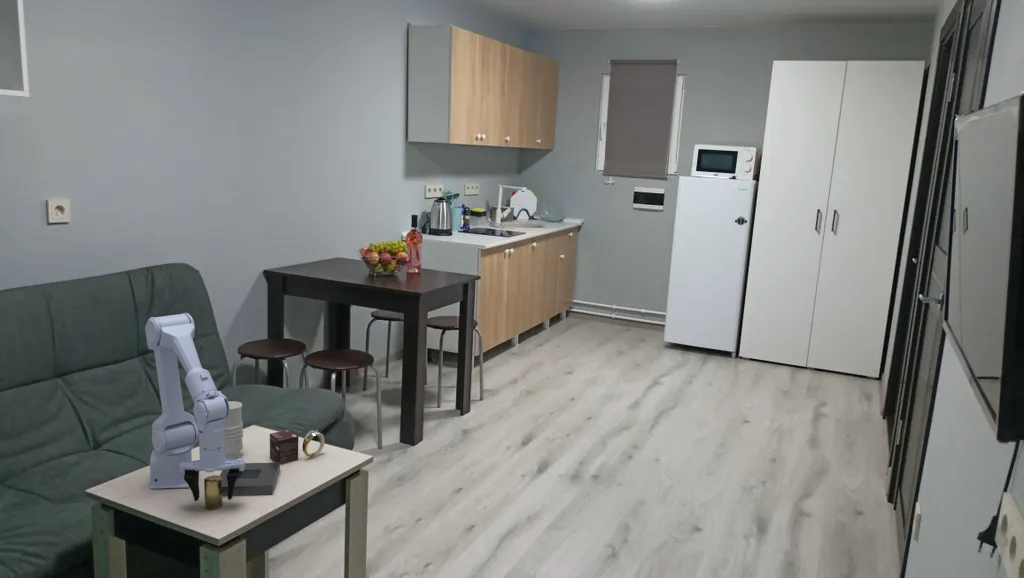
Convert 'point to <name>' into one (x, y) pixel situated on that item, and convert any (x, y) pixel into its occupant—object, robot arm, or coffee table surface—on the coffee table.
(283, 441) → the box
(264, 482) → the block
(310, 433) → the ring
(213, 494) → the brass shaft
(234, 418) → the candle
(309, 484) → the coffee table surface
